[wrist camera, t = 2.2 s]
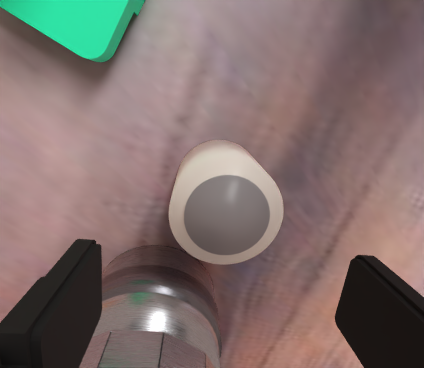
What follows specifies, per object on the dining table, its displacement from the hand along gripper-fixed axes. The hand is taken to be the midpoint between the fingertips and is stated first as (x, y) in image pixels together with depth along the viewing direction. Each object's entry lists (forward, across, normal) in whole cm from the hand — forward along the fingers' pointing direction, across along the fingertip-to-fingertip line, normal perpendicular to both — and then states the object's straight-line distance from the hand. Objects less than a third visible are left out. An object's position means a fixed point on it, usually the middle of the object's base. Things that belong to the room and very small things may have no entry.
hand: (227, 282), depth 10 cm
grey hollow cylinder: (+11, +4, +10) cm, 15 cm away
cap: (+10, 0, -1) cm, 10 cm away
